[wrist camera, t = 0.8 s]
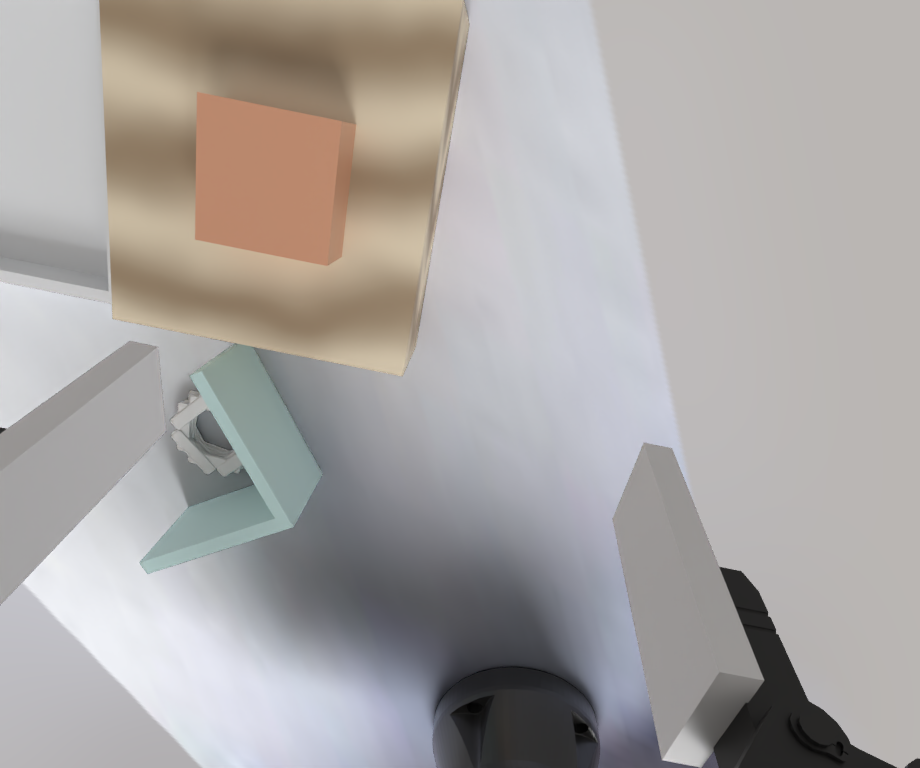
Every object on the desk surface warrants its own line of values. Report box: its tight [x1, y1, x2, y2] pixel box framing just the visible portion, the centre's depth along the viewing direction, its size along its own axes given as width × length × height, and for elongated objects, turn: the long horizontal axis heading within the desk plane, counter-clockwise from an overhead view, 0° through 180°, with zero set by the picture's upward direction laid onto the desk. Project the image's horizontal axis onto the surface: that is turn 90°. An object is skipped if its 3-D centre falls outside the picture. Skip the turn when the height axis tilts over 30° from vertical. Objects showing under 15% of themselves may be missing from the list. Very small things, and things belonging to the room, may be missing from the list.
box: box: [0, 0, 112, 304], centre depth 35 cm, size 20×13×4 cm, turn 169°
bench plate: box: [99, 0, 469, 376], centre depth 34 cm, size 20×18×6 cm
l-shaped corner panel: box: [140, 343, 323, 574], centre depth 42 cm, size 12×12×8 cm
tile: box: [195, 92, 356, 266], centre depth 30 cm, size 7×7×3 cm
